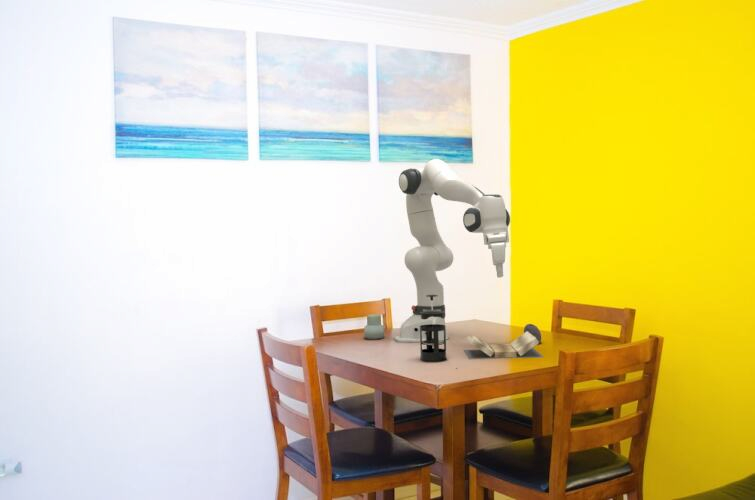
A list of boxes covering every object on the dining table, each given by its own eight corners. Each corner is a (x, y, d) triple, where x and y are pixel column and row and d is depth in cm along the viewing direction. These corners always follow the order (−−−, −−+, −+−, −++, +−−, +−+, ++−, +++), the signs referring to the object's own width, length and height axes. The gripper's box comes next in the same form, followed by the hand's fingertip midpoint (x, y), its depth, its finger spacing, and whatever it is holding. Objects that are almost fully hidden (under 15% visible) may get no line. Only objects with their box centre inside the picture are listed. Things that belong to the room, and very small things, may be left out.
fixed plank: (495, 357, 243) (495, 352, 243) (488, 349, 259) (488, 344, 259) (516, 357, 243) (516, 351, 243) (508, 349, 259) (508, 343, 259)
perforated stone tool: (544, 346, 268) (544, 328, 267) (530, 347, 268) (530, 329, 267) (536, 340, 283) (535, 323, 282) (523, 340, 283) (522, 323, 282)
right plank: (530, 335, 259) (527, 331, 259) (539, 342, 243) (535, 337, 243) (512, 348, 259) (509, 343, 259) (520, 356, 243) (517, 351, 243)
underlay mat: (468, 361, 243) (468, 359, 243) (463, 352, 261) (463, 349, 261) (544, 359, 242) (544, 357, 242) (533, 350, 260) (533, 348, 260)
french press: (450, 361, 243) (448, 295, 242) (424, 363, 241) (422, 296, 241) (441, 355, 255) (440, 292, 254) (416, 357, 253) (414, 293, 252)
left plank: (471, 344, 244) (474, 339, 243) (466, 337, 260) (469, 332, 259) (490, 356, 244) (494, 352, 243) (484, 348, 260) (487, 344, 259)
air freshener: (383, 340, 294) (383, 316, 294) (364, 340, 294) (363, 317, 294) (384, 336, 305) (383, 313, 304) (365, 336, 305) (364, 313, 305)
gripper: (486, 241, 261) (490, 278, 260) (487, 237, 241) (491, 277, 240) (504, 239, 260) (507, 276, 259) (506, 235, 240) (510, 275, 239)
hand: (500, 277), depth 249 cm, fingers open, 8 cm apart
